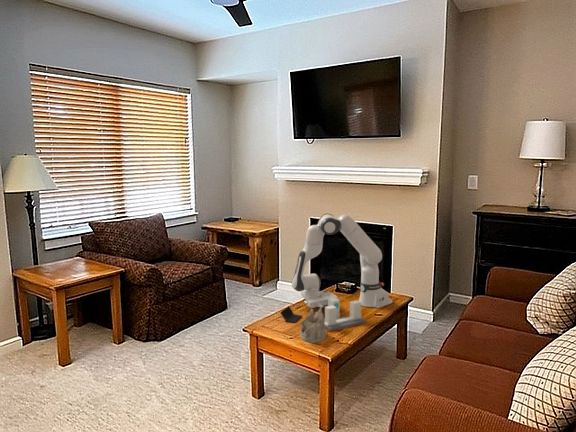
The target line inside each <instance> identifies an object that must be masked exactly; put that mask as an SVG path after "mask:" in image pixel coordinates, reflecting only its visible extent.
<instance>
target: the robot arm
mask: <svg viewBox="0 0 576 432" xmlns="http://www.w3.org/2000/svg"><path fill="white" fill-rule="evenodd" d="M338 232H339V233H340V232H341V234H342V235H343V236H344V237H345V238H346V239H347V241H348V242H349V243H350V244H351V245H352V247H353V248H354V249H355V250H356V251H357V252H358V253H359V261H360V273H361V275H360V284H359V285H360V293H359V294H360V295H359V299H358V301H360V302H361V307H362V306H363V307H367V308H368V307H369V308H377V309H379V308H382V307H385V306H388V305H391V304H393V300H392V299H391V298H390V295H389V293H388V291H386V290H385V289H383V288H382V287H383V286H385V283H384V282H380V280H379V277H380V270H379V263H380V262H381V261H382V259H383V253H382V250H381V249H380V248H379V246H378V245H376V243H375V242H374V241H373V240H372V239H371V237H370V236H368V235H367V233H366V232H365V230H363V229H362V228H361V226H360V225H359V224H358V223H357V222H356V220H354V218H352V217H351V216H350V215H348V214H342V215H340V216H339V217H335V216H334V215H333V214H331V213H325V214H322V215H321V216H320V217H319V219H318V221H317V222H316V224H312V225H310V226H309V227H308V228H307V230H306V235H305V242H304V247H303V248H302V250H301V251H300V252H299V254H298V258H297V261H296V266H295V271H294V273H293V274H294V275H293V277H292V279H291V287H292V289H294V290H295V291H296V292H299V293H300V295H301V297H302V298H303V299H305V300H304V302H303V303H305V304H306V306H308V307H309V308H311V309H313V308H325V306H328V299H329V298H334V297H335V298H337V299H338V300H339V297H338V296H337V295H335V294H334V293H332V292H330V291H327V290H326V291H325V290H320V287H321V285H322V284H321V278H320V276H319V275H318V274H317V273H307V274H304V272H305V268H306V267H305V266H306V264H307V263H308V262H309V261H310V260H312V259H315V257H316V258H317V257H318V256H319V255H320V254H321V252H322V251H323V247H324V246H323V243H324V236H325V235H329V236H331V235H334V234H336V233H338Z"/></svg>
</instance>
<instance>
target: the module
mask: <svg viewBox="0 0 576 432" xmlns="http://www.w3.org/2000/svg"><path fill="white" fill-rule="evenodd" d="M340 302H341V301H340V299H339V298H338V299H337V298H335V297H334V298H329V299H328V305H327V306H331V305H333V306H335V307H336V319H338V318H341V317H340V311H341V310H340V309H341V308H340V307H341V303H340Z"/></svg>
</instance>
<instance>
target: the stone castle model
mask: <svg viewBox="0 0 576 432" xmlns="http://www.w3.org/2000/svg"><path fill="white" fill-rule="evenodd" d="M322 310H323V309H322V308H321V307H319V309H318V310H317V311H314V309H313V308H311V309H310V310H309V314H308V315H306V317H305V318H304V319H303V320H302V321H301V322H300V324H301V326H300V331H299V335H300V337H301V340H302V341H303V342H307V343H310V344H312V343H313V344H314V343H315V344H316V343H318V342H321V341H323V340H325V338H326V337H327V330H326V329H325V325H324V321H325V315H324V313H323V311H322Z"/></svg>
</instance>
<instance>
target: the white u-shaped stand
mask: <svg viewBox="0 0 576 432" xmlns="http://www.w3.org/2000/svg"><path fill="white" fill-rule="evenodd" d="M324 318H325V319H324V325H325V330H326V331H328V332H332V331H338V330H340V329H345V328H350V327H353V326H357V325H358V326H359V325H361V324H366V323H367V319H365V318H363V316H362V305H361V302H360V301H359V299H358V300H357V299H356V300H351V301H349V315H347V316H343V317H340V318H337V319H336V307H335V306H333V305H331V306H328V305H326V306H324Z"/></svg>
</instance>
